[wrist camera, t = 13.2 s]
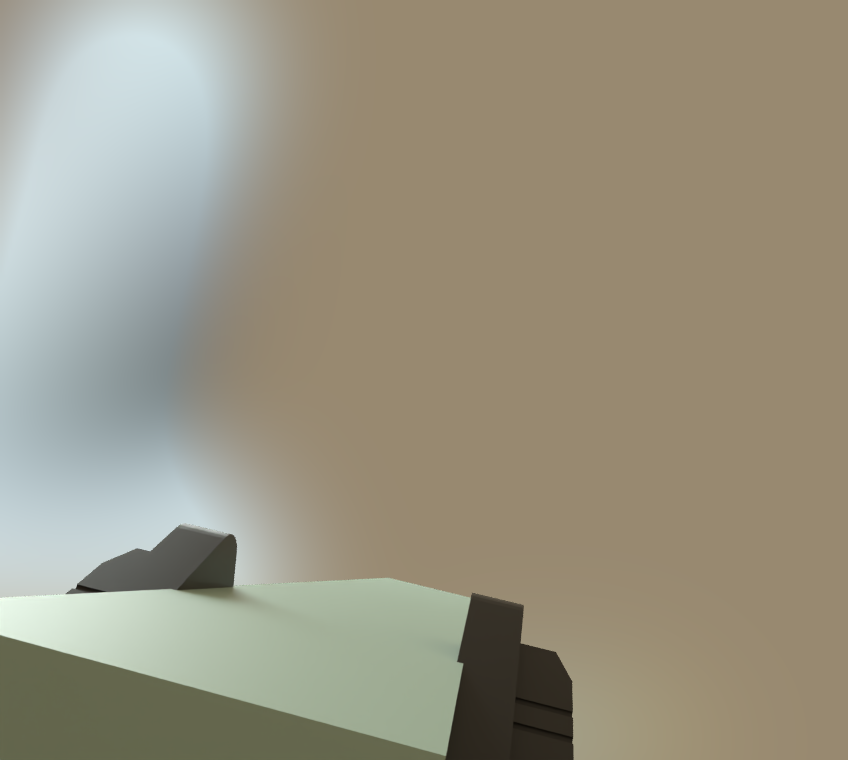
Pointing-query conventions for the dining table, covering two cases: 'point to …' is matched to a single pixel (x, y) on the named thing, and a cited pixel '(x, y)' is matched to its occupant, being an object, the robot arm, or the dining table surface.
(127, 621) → the sage bar
